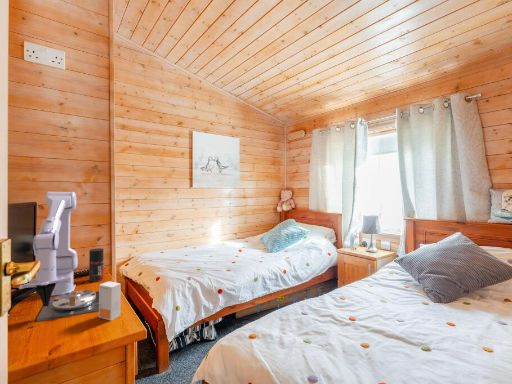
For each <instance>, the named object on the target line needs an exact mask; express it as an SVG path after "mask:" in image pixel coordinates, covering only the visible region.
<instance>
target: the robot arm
mask: <svg viewBox="0 0 512 384" xmlns="http://www.w3.org/2000/svg"><path fill="white" fill-rule="evenodd" d="M45 204H46V206H47V207H48V208H49V209H48V215H47V217H45V218H44V219H43V220H42V223H41V225H40V228H39V231H38V234H36V235H34V236H33V239H32V249H33V255H34V257H35V262H36V261H38V260H40V261H41V266H40V269H39V271H38V272H37V273H36V272H35V278H34V279H30V280H31V281H30V282H29V283H27V284H24V285H20V286H19V285H18V289H19V290H23V289H26V288H27V289H28V288H34V287H35V292H36V294H37V295H38V297H39V298H40V300H41V302H42V308H43V307H45V306H48V305H49V302H50V298H52V297H53V296H60V295H62V294H65V293H69V292H72V291H75V289H76V286H77V285H76V284H74V270H76V269H77V268H78V265H79V264H78V263H79V260H78V259H79V258H78V252H77V251H76V250H75V249H73V248H71V214H72V211H75V210H76V209H77V194H76V193H75V191H47V193H46V195H45Z"/></svg>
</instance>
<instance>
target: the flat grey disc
mask: <svg viewBox="0 0 512 384" xmlns="http://www.w3.org/2000/svg"><path fill="white" fill-rule="evenodd" d="M95 292H96V291H93V290H89V289H88V290H87V289H85V290H84V289H83V290H75V289H74V291H72V292H69V293H65V294H61V295H57V296H55V297H54V298H55V299H54V300H53V309H55V310H59V311H67V310H74V309H79V308H82V307H85V306H88V305H90V304H92V303H93V302H94V301H95V300H96V293H95Z"/></svg>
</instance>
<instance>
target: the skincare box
mask: <svg viewBox="0 0 512 384" xmlns="http://www.w3.org/2000/svg"><path fill="white" fill-rule="evenodd" d="M121 285H122V283H119V282H114V281H108V280H107V281H106V282H103V283H100V284H98V291H99V311H98V318H99V319H102V320H108V321H110V322H112V321H113V320H115V319H117V318H119V317H121V295H122V294H121V293H122V291H121V289H122V288H121V287H122V286H121Z"/></svg>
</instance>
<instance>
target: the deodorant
mask: <svg viewBox="0 0 512 384" xmlns="http://www.w3.org/2000/svg"><path fill="white" fill-rule="evenodd" d="M88 252H89V257H88V258H89V260H88V263H89V264H88V265H89V267H88V268H89V269H88V271H89V272H88V274H89V278H88V282H90V283H98V282H99V283H100V282H102V281H103V280H104V248H101V247H99V248H90V249H89V250H88ZM101 280H102V281H101Z"/></svg>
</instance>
